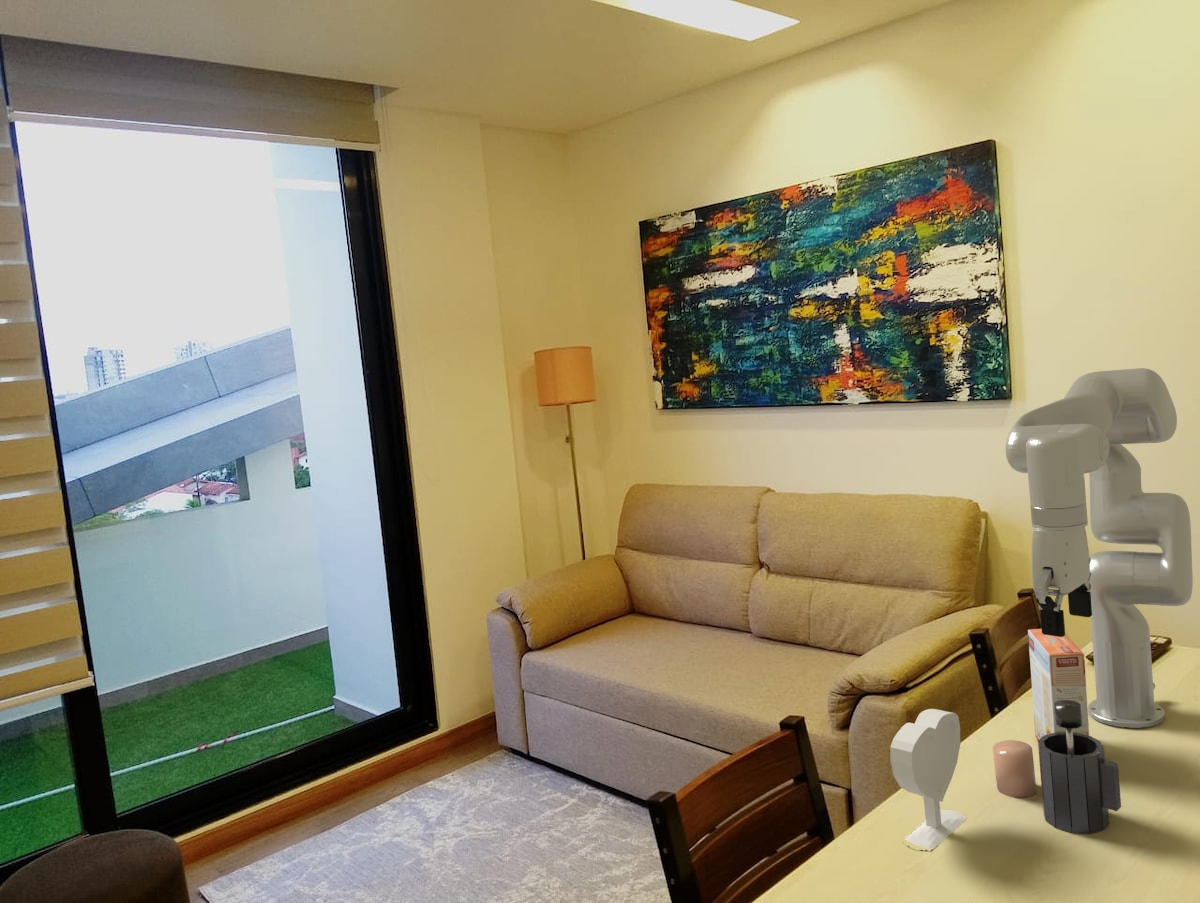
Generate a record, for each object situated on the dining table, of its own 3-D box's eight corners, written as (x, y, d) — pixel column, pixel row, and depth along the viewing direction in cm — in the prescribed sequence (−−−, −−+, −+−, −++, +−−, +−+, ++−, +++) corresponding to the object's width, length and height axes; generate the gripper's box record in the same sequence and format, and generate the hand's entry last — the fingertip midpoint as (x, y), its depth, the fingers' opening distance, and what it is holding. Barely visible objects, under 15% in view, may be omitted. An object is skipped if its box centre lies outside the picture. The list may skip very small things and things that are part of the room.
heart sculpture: (925, 857, 138) (914, 742, 136) (894, 847, 141) (883, 735, 139) (972, 812, 148) (962, 705, 146) (942, 804, 152) (932, 699, 150)
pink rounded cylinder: (1004, 776, 158) (999, 737, 157) (1041, 783, 154) (1037, 744, 153) (991, 792, 154) (987, 753, 153) (1029, 800, 149) (1025, 760, 149)
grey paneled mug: (1058, 798, 149) (1053, 727, 148) (1131, 818, 141) (1126, 743, 140) (1034, 821, 143) (1028, 748, 142) (1109, 844, 135) (1103, 766, 134)
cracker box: (1094, 771, 156) (1085, 652, 154) (1056, 772, 157) (1046, 654, 155) (1069, 735, 169) (1061, 625, 167) (1034, 737, 171) (1025, 627, 168)
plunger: (1062, 782, 147) (1055, 694, 145) (1102, 792, 142) (1095, 702, 140) (1045, 797, 143) (1038, 707, 141) (1086, 809, 138) (1079, 715, 137)
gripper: (1057, 501, 147) (1065, 605, 149) (1007, 527, 136) (1016, 639, 138) (1108, 504, 141) (1116, 611, 143) (1060, 530, 130) (1069, 647, 132)
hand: (1067, 625), depth 140 cm, fingers open, 9 cm apart
